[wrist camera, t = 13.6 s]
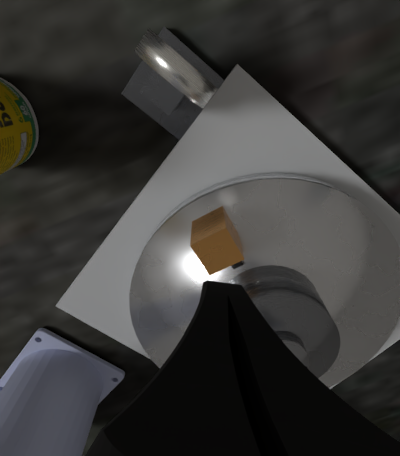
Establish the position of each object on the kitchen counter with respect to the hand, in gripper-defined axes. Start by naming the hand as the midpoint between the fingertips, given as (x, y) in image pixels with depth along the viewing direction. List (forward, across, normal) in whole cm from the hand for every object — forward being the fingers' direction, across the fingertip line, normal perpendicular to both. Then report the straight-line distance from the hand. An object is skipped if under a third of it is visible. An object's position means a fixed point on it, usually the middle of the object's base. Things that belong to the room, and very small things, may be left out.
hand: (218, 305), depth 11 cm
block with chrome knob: (+10, +3, -6) cm, 13 cm away
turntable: (+9, -5, +6) cm, 12 cm away
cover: (+8, -5, +6) cm, 11 cm away
